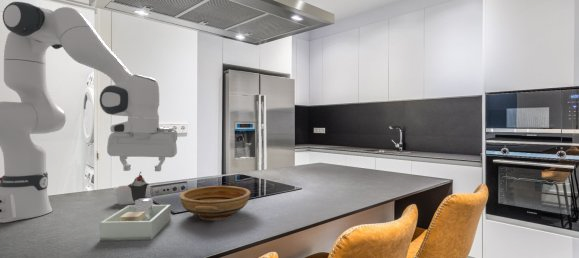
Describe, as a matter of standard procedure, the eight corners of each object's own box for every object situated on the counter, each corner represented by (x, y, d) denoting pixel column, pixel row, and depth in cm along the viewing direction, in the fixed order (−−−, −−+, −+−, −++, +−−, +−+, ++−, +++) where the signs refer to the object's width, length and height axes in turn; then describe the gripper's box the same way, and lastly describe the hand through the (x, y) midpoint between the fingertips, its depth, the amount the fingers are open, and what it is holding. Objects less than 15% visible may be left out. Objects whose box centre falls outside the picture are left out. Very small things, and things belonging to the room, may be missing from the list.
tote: (151, 239, 85) (151, 221, 85) (99, 240, 84) (99, 222, 84) (170, 219, 103) (170, 204, 103) (128, 220, 102) (128, 205, 102)
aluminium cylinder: (132, 224, 95) (132, 202, 95) (138, 220, 100) (138, 198, 100) (149, 224, 95) (149, 201, 95) (154, 219, 100) (154, 198, 100)
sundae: (141, 215, 107) (140, 172, 107) (124, 214, 108) (124, 171, 108) (153, 210, 113) (153, 169, 113) (137, 209, 115) (136, 169, 115)
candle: (115, 201, 126) (115, 186, 126) (140, 199, 130) (140, 184, 130) (113, 206, 118) (113, 190, 118) (139, 204, 122) (139, 188, 122)
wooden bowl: (195, 203, 123) (195, 183, 123) (255, 204, 123) (255, 184, 123) (163, 229, 94) (163, 203, 93) (243, 230, 93) (243, 203, 93)
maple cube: (119, 234, 87) (119, 216, 87) (127, 228, 92) (127, 211, 92) (138, 234, 87) (138, 216, 87) (145, 228, 92) (145, 211, 92)
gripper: (180, 127, 101) (179, 169, 101) (115, 125, 99) (114, 168, 100) (174, 128, 95) (173, 173, 95) (104, 126, 93) (104, 171, 93)
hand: (142, 170), depth 97 cm, fingers open, 8 cm apart
